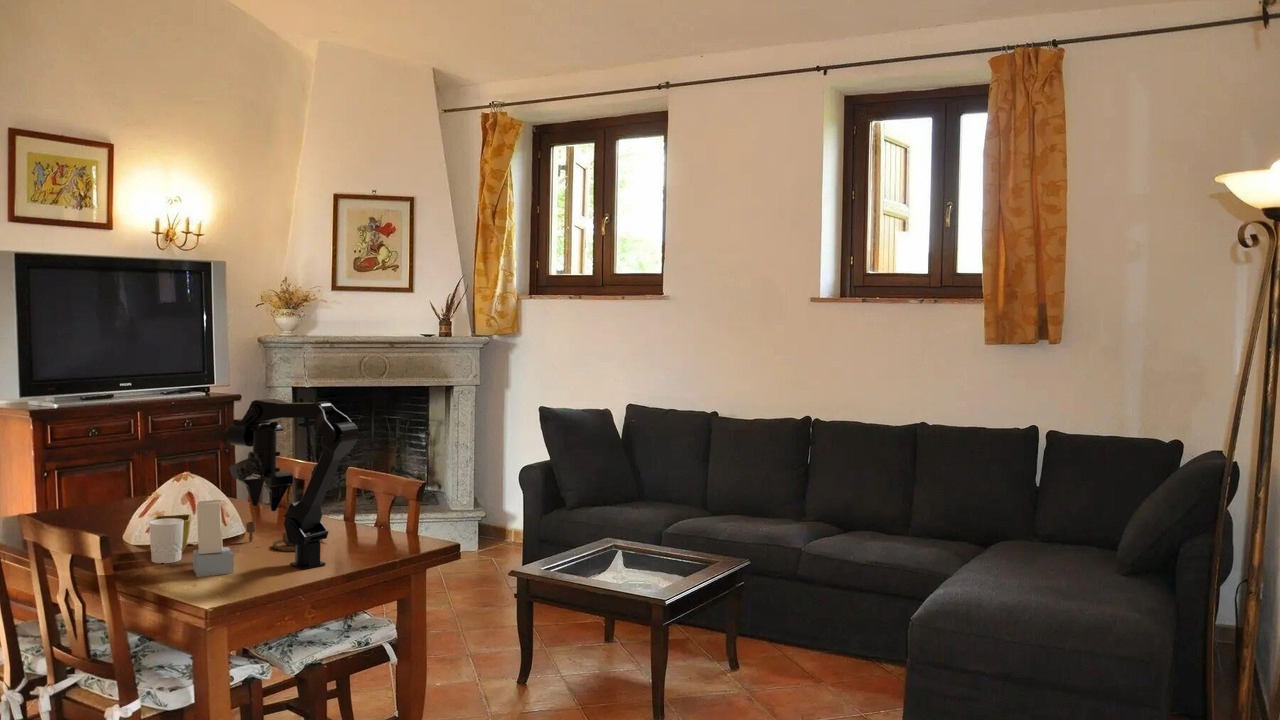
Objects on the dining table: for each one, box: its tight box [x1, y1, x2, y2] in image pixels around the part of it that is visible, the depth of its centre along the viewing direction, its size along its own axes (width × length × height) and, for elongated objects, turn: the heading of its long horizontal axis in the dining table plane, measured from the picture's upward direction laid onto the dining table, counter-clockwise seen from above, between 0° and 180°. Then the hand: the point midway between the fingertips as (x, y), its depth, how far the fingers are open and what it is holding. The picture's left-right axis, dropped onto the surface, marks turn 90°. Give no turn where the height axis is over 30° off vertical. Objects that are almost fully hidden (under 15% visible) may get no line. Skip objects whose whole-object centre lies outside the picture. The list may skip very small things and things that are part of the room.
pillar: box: [196, 499, 224, 554], centre depth 241 cm, size 5×5×12 cm
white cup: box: [148, 518, 184, 564], centre depth 250 cm, size 8×8×10 cm
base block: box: [192, 546, 235, 578], centre depth 241 cm, size 8×8×5 cm
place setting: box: [245, 521, 327, 552], centre depth 271 cm, size 18×20×6 cm
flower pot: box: [152, 513, 192, 553], centre depth 259 cm, size 9×9×9 cm
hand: (264, 508), depth 254 cm, fingers open, 9 cm apart
